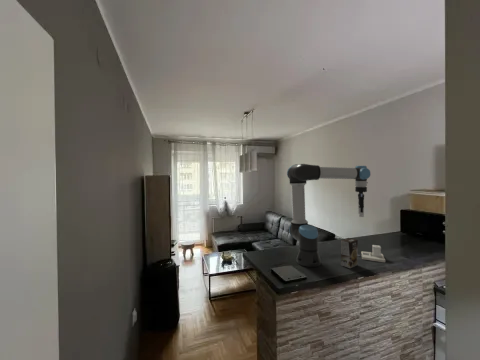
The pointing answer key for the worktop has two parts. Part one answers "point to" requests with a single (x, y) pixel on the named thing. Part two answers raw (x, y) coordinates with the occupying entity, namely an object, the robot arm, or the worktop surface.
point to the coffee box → (349, 252)
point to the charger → (376, 251)
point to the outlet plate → (369, 257)
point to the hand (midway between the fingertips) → (360, 215)
